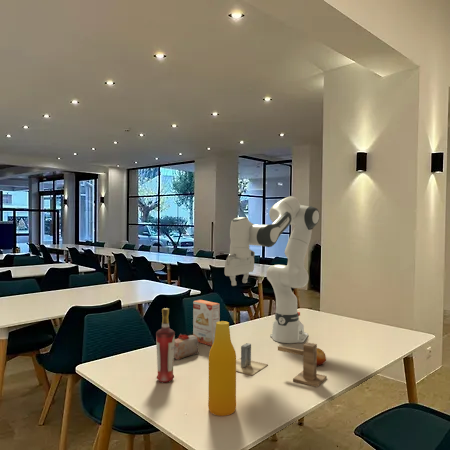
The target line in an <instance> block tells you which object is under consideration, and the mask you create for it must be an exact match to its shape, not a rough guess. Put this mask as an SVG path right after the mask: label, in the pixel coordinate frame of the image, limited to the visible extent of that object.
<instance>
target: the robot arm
mask: <svg viewBox="0 0 450 450" xmlns="http://www.w3.org/2000/svg"><path fill="white" fill-rule="evenodd" d="M268 215H269V219H270V220H271V222H272V223H270V224H269V223H268V224H254V223H252V222H251V221H250V220H249V217H246V216H241V217H234V218H232V219H231V222H230V227H229V240H230V244H229V254H228V255H227V257H226V260H225V263H224V275H225V276H226V277H229V279H230V281H231V286H232V287H235V286H237V285H238V284H237V281H236V278H237V277H236V276H239V275H243V277H242V280H241V281H242V283H243V284H246V283H248V278H249V275H250V273H253V272H254V269H255V254H256V253H255V251H254V250H252V249H251V248H250V246H257V247H264V248H265V247H266V248H272V247H273V246H274V245H275V244H277V242H278V239H279V238H280V236H281V235H282V234H283V233H284V232H285V231H286V229H287V228H288V227H289V226H294V227H293V229H292V232H291V233H290V236H289V237H288V241H287V244H286V247H285V249H284V254H285V256H286V258H287V263H286V264H287V265H285V264H274V265H270V266H269V267H268V268H267V271H266V279H267V281H268V282H269V283H270V284H271V286H272V288H273V292H274V296H275V314H274V316H275V318H274V319H275V320H274V321H273V322H272V332H271V334H270V335H269V337H270V338H271V339H272V340H274V341H275V342H277V343H282V344H295V343H297V344H298V343H301V344H302V343H305V341H306V339H307V338H308V336H309V333H307V332H305V326H304V324H303V322H302V321H300V318H299V316H301V312H300V311H298V297H297V296H296V295H295V294H294V292H293V290H292V289H300V288H304V287H306V285H308V283H309V280H310V279H309V277H310V276H309V273H308V271H307V269H306V268H305V259H306V256H307V253H308V249H309V245H310V242H311V238H312V230H314V228H315V227H316V226H317V225H318V223H319V221H320V217H321V216H320V215H321V214H320V211H319V209H318V208H316V207H315V206H312V205H310V206H308V205H303V204H301V203H300V200H299V199H298V198H297V197H296V196H291V195H289V196H287V197H284V198H283V199H281V200H278V201H277V202H276V203H275V204H273V205H272V206H271V207H270V208H269V212H268Z"/></svg>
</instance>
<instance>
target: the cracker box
mask: <svg viewBox="0 0 450 450" xmlns="http://www.w3.org/2000/svg"><path fill="white" fill-rule="evenodd" d="M192 306H193V307H192V309H193V310H192V318H193V319H192V325H193V328H192V330H193V331H192V335H194V336H196V337H197V338H198V343H199V344H203V345H206V346H210V347H212V345H213V343H214V339H215V330H216V322H219V321H220V318H221V317H220V315H221V313H220V310H221V309H220V303H218V302H213V301H208V300H203V299H197V300H193V302H192Z"/></svg>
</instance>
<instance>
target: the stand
mask: <svg viewBox="0 0 450 450" xmlns="http://www.w3.org/2000/svg"><path fill="white" fill-rule="evenodd" d="M317 346H318V344H317V343H314V342H308V341H307V342H305V343H303V345H302V348H303V349H301V348H294V347H289V346H284V345H277V351H279V352H284V353H290V354H294V355H299V356H302V365H303V366H302V370H301V372H300V373H298V374H296V376H294V377H293V378H292V382H295V383H299V384H303V385H307V386H311V387H316V388H318V387H319V386H321V384H323V382H324V381H326V380H327V375H324V374H320V373H317V371H318V370H317V368H318V366H317V348H318V347H317Z"/></svg>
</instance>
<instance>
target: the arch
mask: <svg viewBox="0 0 450 450" xmlns="http://www.w3.org/2000/svg"><path fill="white" fill-rule="evenodd" d="M240 358H241V367H242V368H246V367H247V365H251V361H252V343H249V342H247V343H245V344H243V345H240Z"/></svg>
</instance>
